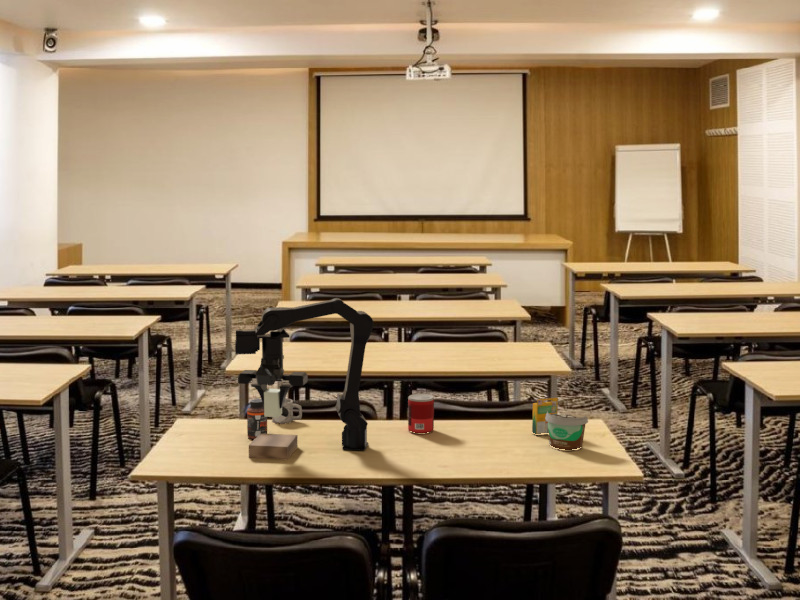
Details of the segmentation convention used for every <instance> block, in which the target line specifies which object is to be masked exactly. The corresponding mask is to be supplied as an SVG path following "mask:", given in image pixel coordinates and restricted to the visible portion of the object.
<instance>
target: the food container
mask: <svg viewBox="0 0 800 600" xmlns="http://www.w3.org/2000/svg"><path fill="white" fill-rule="evenodd" d="M545 419H546V420H547V421H548V432H549V435H548V443H549V444H550V445H551V446H553V447H555V448H559V449H565V450H572V449H577V448H580V447H582V448H583V444H584V437H585V429H586V424H588V423H589V419H588V416H587V414H585V415H584V416H582V417H581V416H576V415H575V416H574V415H571V414H557V415H553V414H549V413H548V411H547V413H546V417H545ZM550 445H549V446H550Z"/></svg>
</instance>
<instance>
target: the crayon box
mask: <svg viewBox="0 0 800 600" xmlns="http://www.w3.org/2000/svg"><path fill="white" fill-rule="evenodd" d="M558 401H559V398H558V397H548V398H547V397H546V398H538V399H537V400H536V402H534V403H532V425H531V426H532V429H531V432H533V433H535V434H541V433H549V432H548V421H547V420H546V419H545V417H546V413H547V411H548V413H549V414H553V415H558V409H559V408H558V405H559V403H558Z"/></svg>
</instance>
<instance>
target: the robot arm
mask: <svg viewBox="0 0 800 600" xmlns="http://www.w3.org/2000/svg"><path fill="white" fill-rule="evenodd" d="M334 314H335V315H336V314H337V315H339V316H340V317H341V318H342V319H344V320H345V321H347V322H348V323H349V328H350V331H349V333H350V340H351V343H350V350H349V357H348V364H347V371H346V376H345V377H346V379H345V383H344V389H343V392H342V394H339V393H338V394H337V395H336V399H337V400H336V405H335V406H334V408H335V410H336V413H337V414H338V417H339V418H340V421H341V422H342V423H343V424H345V425H344V427H343V430H342V432H341V447H342V448H341V449H342V450H344V451H366V449H367V447H368V445H369V442H368V439H367V438H368V436H367V435H368V430H367V429H368V424H369V423H368V421H367V420H366V418H365V417H364V415H363V414H362V413H361V405H360V402H361V401H360V394H359V391H360V387H361V386H360V385H361V379H362V372H363V366H364V365H363V364H364V358H365V351H366V347H367V343H368V341H369V339H370V337H371V335H372V331H373V328H374V319H373V318H372V316H371V315H369V313H367V312H365V311H363V310H358V311H357V310H356V309H354V308H353V307H352V306H350V305H348V304H346V303H345V302H344V300H342V299H340V298H338V297H335V298H332V299H329V300H324V301H319V302H313V303H308V304H304V305H300V306H299V305H298V306H294V307H287V306H286V307H283V306H282V307H281V306H279V307H277V306H275V307H267V308H266V309H264V311H263V312H262V314H261V320H260V322H259V323H258V324H257V325H256V327H255V328H254V329H246V330H245V329H244V330H243V329H236V330H235V340H234V349H235V350H234V352H235V353H234V354H235V355H256V354H257V352H259V351H260V349H261V351H262V352H261V359H260V365H259V367H258V369H257V370H256V369H255V370H253V369H244V370H243V371H242V372H240V373H239V374H238V375H237V384H240V385H241V384H244V385H249V384H250V383H251V384H250V386H251V388H255V389H256V390H257V392H258V394H259V397H260V399H262V402H263V405H264V392H265V391H266V390H267V389H268V386H273V385H275V382H281V385H279V389H280V401H279V406H280V408H282V406H283V403H284V400H285V398H286V397H287V395H288V392H289V390H290V389H291V388H292V387H303V386H304V385H306V384H307V383H308V381H309V379H308V377H309V376H308V373H307V372H306V371H293V372H291V374H284V373H285V369H284V359H285V354H284V347H283V346H284V345H283V344H284V341H283V340H284V339H285V338H286V339H287V338H290V334H289V333H288V331H286V329H285V327H288V326H290V325H292V324H294V323H297V322H300V321H305V320H311V319H317V318H321V317H326V316H330V315H334ZM268 333H269V334H268ZM260 340H261V341H260Z"/></svg>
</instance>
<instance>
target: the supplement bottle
mask: <svg viewBox="0 0 800 600" xmlns="http://www.w3.org/2000/svg"><path fill="white" fill-rule="evenodd" d="M249 402H250V403H249V405H250V406H249V407H248V408H247V411H246V413H247V416H246V417H247V418H246V419H247V420H246V423H247V429H246V430H247V438H248V439H250V440H254V439H255V438H256V437H257V436H258V435H259V434H260V433H261V434H268V417H264V405H263V402H262V399H261V398H260V399H259V398H258V399H257V398H256V399H251V400H250V401H249Z"/></svg>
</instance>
